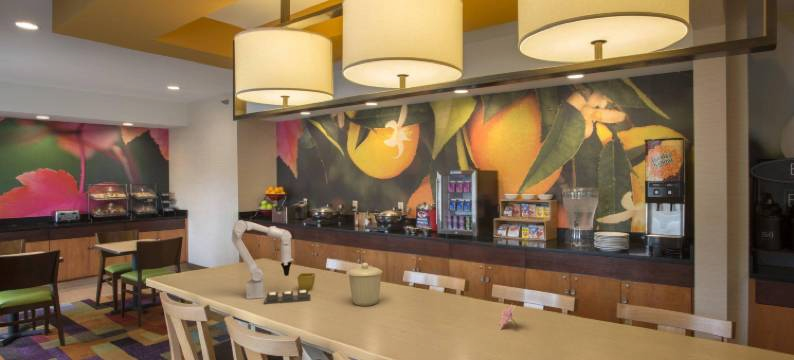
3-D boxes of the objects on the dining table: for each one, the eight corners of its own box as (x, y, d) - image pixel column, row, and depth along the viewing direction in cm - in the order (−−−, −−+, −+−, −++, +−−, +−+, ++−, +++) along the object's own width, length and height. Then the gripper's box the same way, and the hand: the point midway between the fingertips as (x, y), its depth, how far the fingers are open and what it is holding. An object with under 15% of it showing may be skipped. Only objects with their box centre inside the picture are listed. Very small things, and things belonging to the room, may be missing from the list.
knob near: (268, 300, 242) (268, 293, 242) (269, 298, 246) (269, 292, 246) (275, 299, 243) (275, 293, 243) (276, 298, 247) (276, 291, 247)
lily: (504, 322, 204) (494, 304, 203) (528, 316, 198) (518, 297, 197) (499, 339, 193) (488, 320, 192) (524, 332, 188) (513, 313, 187)
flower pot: (312, 291, 263) (312, 276, 263) (297, 292, 263) (297, 276, 263) (315, 288, 272) (315, 273, 272) (301, 288, 272) (300, 273, 272)
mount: (264, 304, 239) (263, 296, 239) (265, 299, 249) (265, 292, 249) (310, 300, 243) (310, 293, 243) (310, 296, 253) (310, 288, 253)
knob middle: (284, 299, 244) (284, 292, 244) (284, 297, 247) (284, 291, 247) (291, 298, 245) (291, 292, 245) (291, 296, 248) (291, 290, 248)
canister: (341, 306, 232) (340, 264, 232) (360, 297, 248) (359, 258, 248) (371, 310, 224) (370, 267, 224) (389, 300, 240) (388, 260, 240)
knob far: (299, 298, 245) (299, 291, 245) (299, 296, 249) (299, 290, 249) (306, 297, 246) (306, 291, 246) (306, 295, 250) (306, 289, 250)
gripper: (292, 253, 253) (293, 277, 253) (293, 249, 267) (294, 272, 267) (279, 254, 252) (280, 278, 252) (281, 250, 266) (281, 273, 266)
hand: (286, 275), depth 259 cm, fingers closed
